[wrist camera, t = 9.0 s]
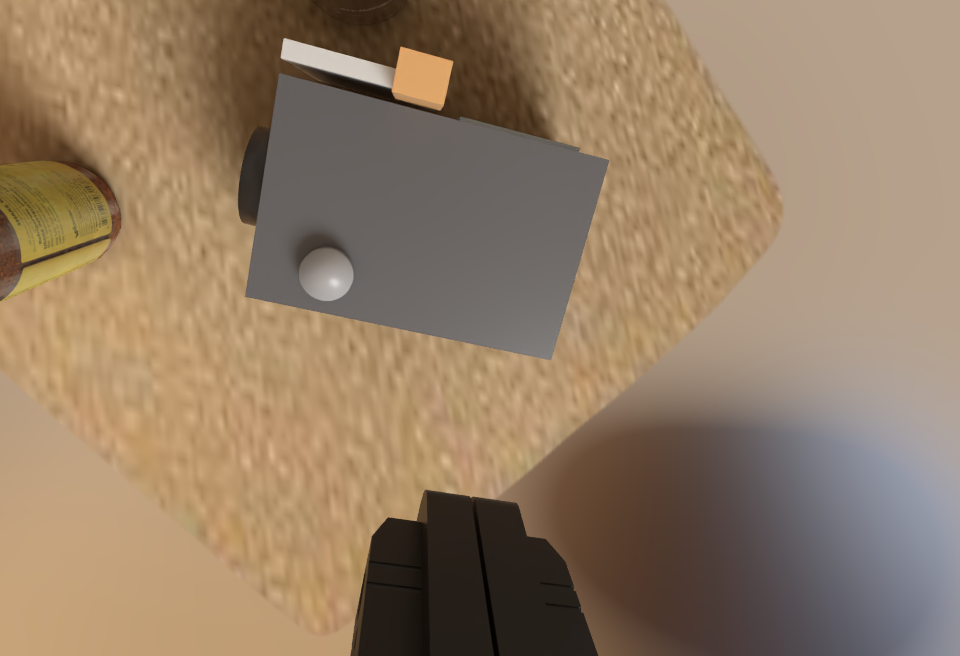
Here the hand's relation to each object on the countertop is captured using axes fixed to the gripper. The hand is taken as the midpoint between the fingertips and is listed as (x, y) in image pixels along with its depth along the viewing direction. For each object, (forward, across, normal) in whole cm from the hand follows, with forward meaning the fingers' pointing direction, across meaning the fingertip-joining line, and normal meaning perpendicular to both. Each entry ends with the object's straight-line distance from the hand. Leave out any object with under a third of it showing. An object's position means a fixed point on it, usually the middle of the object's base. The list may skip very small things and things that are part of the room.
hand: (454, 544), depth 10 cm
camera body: (+31, +1, -2) cm, 31 cm away
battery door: (+30, +5, -8) cm, 32 cm away
